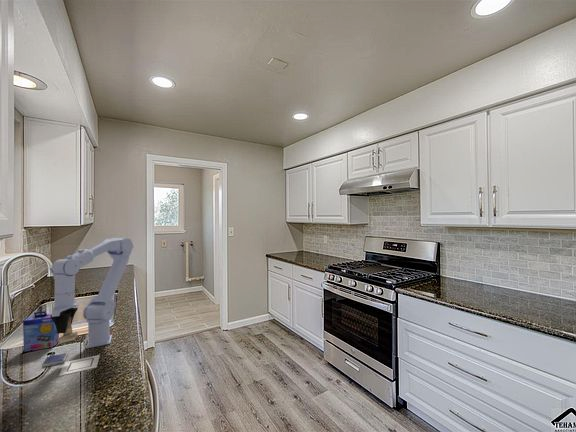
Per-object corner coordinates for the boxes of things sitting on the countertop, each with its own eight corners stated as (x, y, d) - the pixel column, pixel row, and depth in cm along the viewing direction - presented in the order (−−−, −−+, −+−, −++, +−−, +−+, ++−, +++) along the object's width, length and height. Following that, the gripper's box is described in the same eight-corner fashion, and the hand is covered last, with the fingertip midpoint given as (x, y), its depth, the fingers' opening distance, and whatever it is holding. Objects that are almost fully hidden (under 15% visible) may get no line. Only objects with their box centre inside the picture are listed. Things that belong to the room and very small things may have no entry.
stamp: (65, 341, 101) (60, 315, 101) (78, 337, 102) (73, 312, 102) (60, 344, 97) (55, 318, 97) (73, 341, 98) (68, 315, 99)
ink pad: (47, 359, 100) (47, 356, 100) (67, 355, 103) (67, 352, 103) (41, 367, 95) (41, 364, 95) (64, 362, 98) (64, 359, 98)
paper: (65, 362, 98) (65, 361, 98) (100, 355, 103) (99, 354, 103) (58, 376, 89) (58, 375, 89) (96, 367, 94) (96, 367, 94)
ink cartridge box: (22, 352, 107) (21, 314, 107) (29, 346, 112) (28, 310, 112) (54, 347, 111) (54, 310, 111) (59, 341, 116) (59, 306, 116)
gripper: (69, 296, 95) (69, 337, 94) (85, 287, 108) (84, 323, 108) (44, 298, 92) (43, 340, 92) (63, 289, 106) (62, 325, 105)
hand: (64, 331), depth 100 cm, fingers closed on stamp, 3 cm apart
